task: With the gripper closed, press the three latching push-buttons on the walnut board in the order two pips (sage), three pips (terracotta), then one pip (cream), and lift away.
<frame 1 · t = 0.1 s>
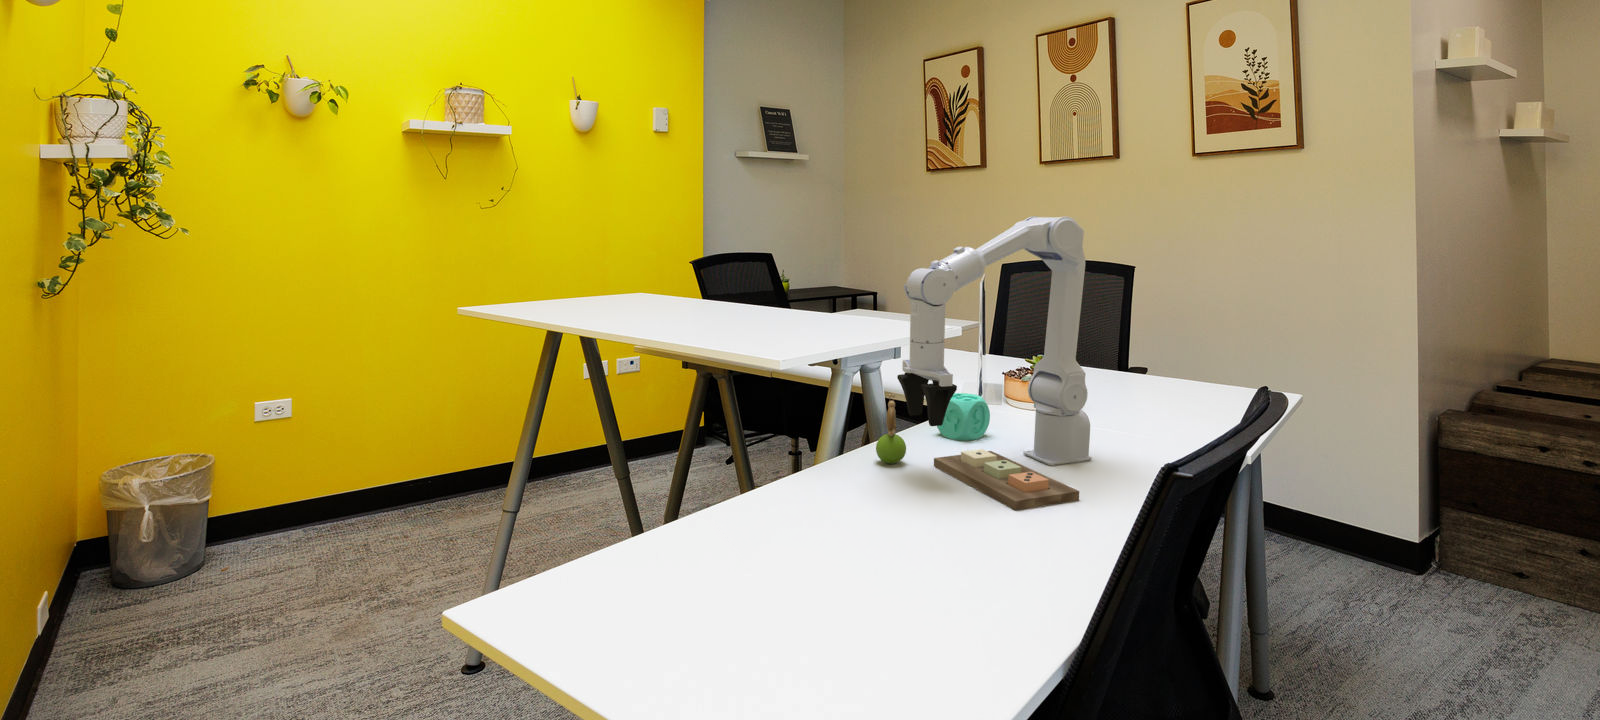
hand: (925, 420, 140), 10 cm above the table, tool pointing down, fingers open, 7 cm apart
decorative dice: (961, 436, 168), on the table
button 1 cream: (978, 458, 144), point 2 cm above the table, slide at 0.0 cm
button 3 terracotta: (1028, 482, 132), point 2 cm above the table, slide at 0.0 cm
button 2 sage: (1002, 470, 138), point 2 cm above the table, slide at 0.0 cm
button board: (1001, 482, 138), on the table
green wooden maraca: (890, 463, 150), on the table
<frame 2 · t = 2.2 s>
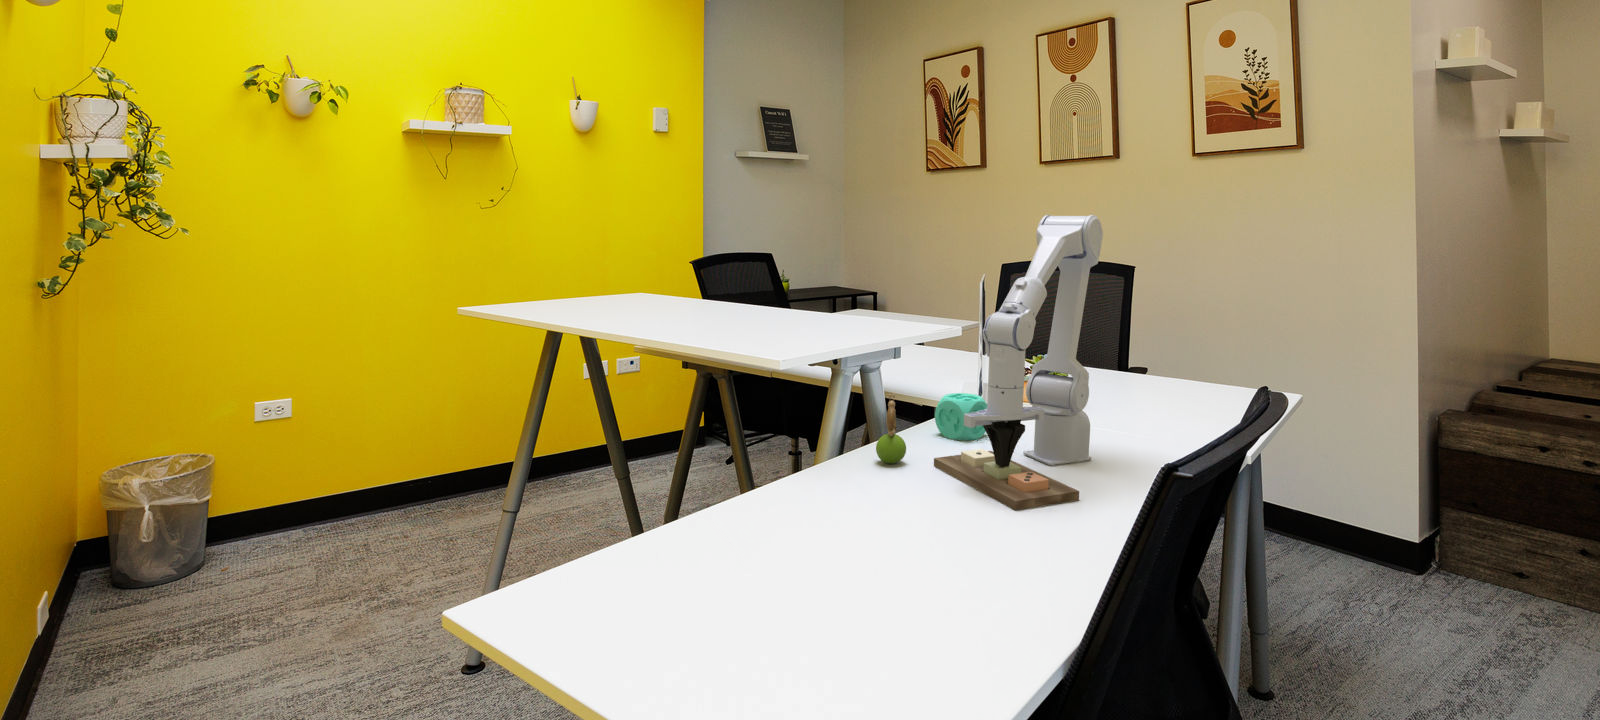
hand: (1002, 464, 138), 3 cm above the table, tool pointing down, fingers closed, pressing on button 2 sage
button 2 sage: (1002, 470, 138), point 2 cm above the table, slide at 0.1 cm, touching gripper
everything else where it was.
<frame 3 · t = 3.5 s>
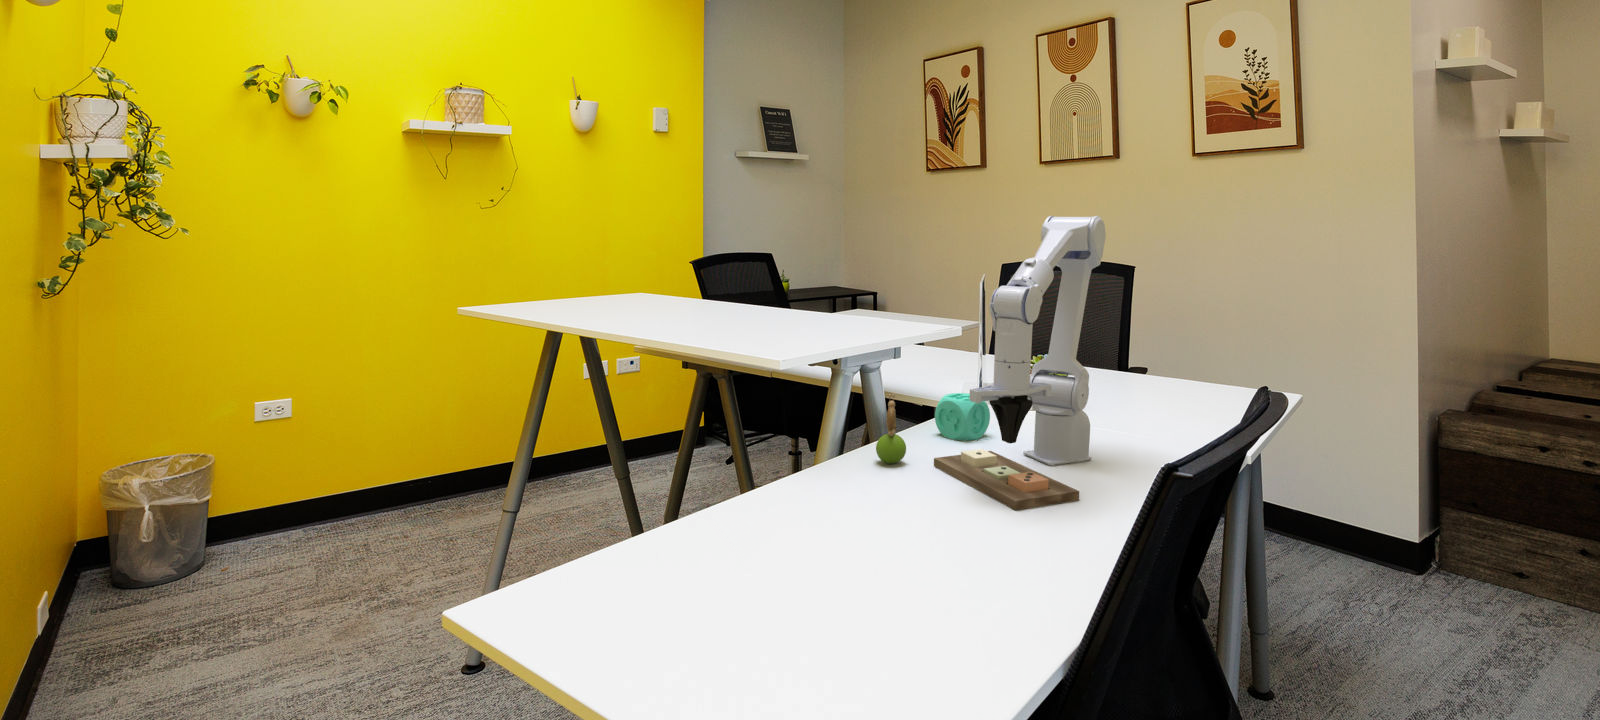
hand: (1008, 441, 136), 7 cm above the table, tool pointing down, fingers closed
button 2 sage: (1001, 476, 138), point 1 cm above the table, slide at 1.0 cm
everything else where it was.
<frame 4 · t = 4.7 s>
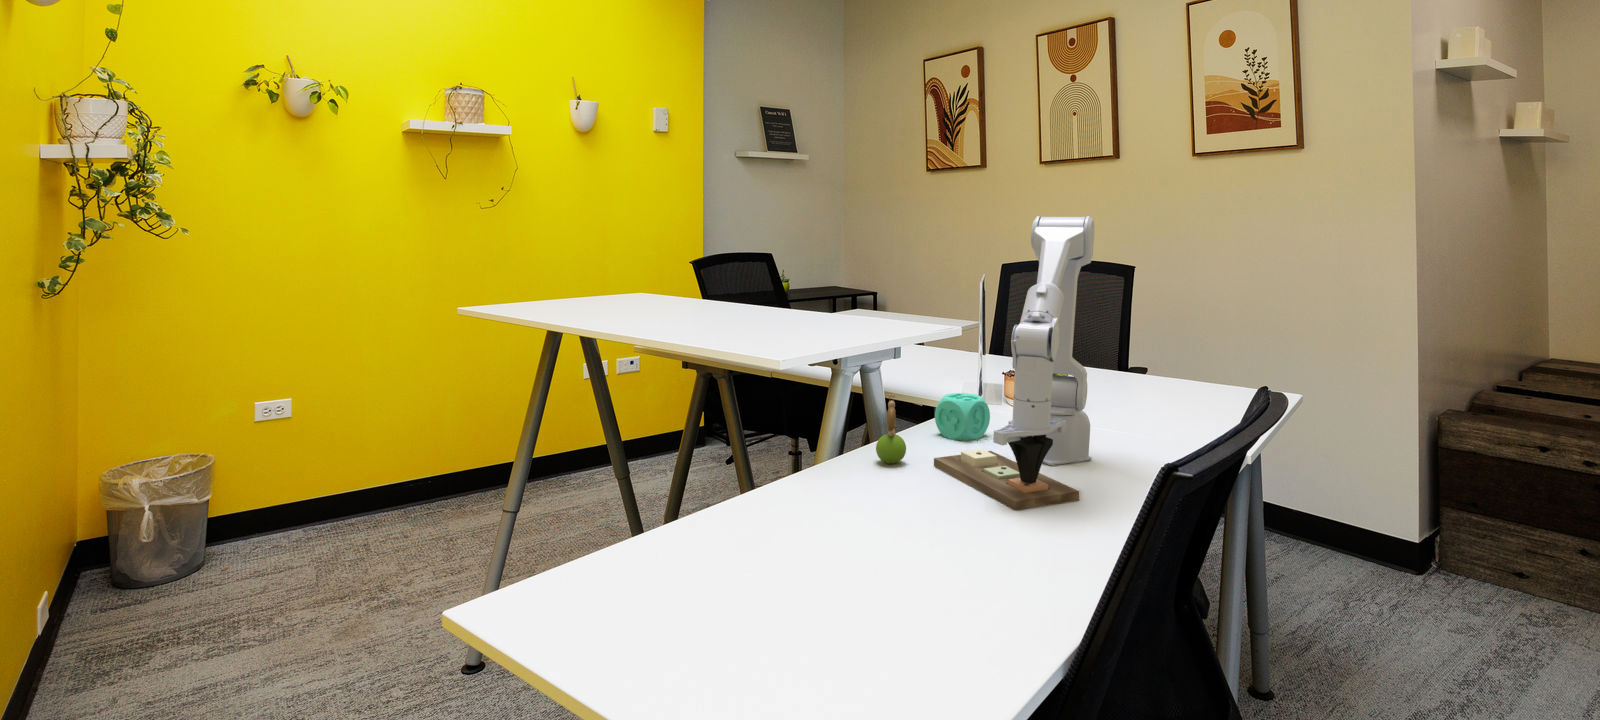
hand: (1028, 481, 131), 2 cm above the table, tool pointing down, fingers closed, pressing on button 3 terracotta
button 3 terracotta: (1027, 487, 132), point 1 cm above the table, slide at 0.8 cm, touching gripper
everything else where it was.
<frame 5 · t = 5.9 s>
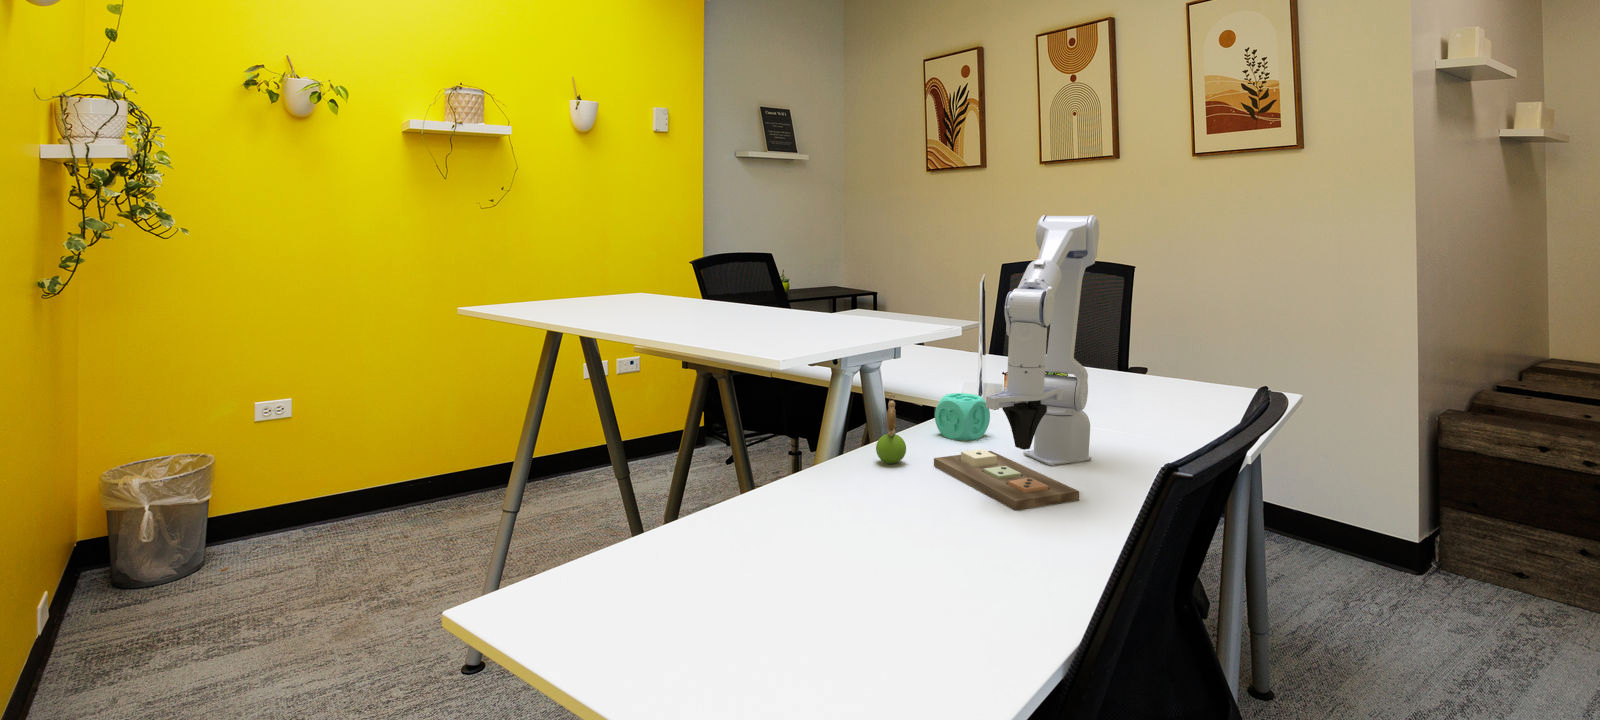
hand: (1022, 447, 132), 7 cm above the table, tool pointing down, fingers closed
button 3 terracotta: (1027, 488, 132), point 1 cm above the table, slide at 1.0 cm
everything else where it was.
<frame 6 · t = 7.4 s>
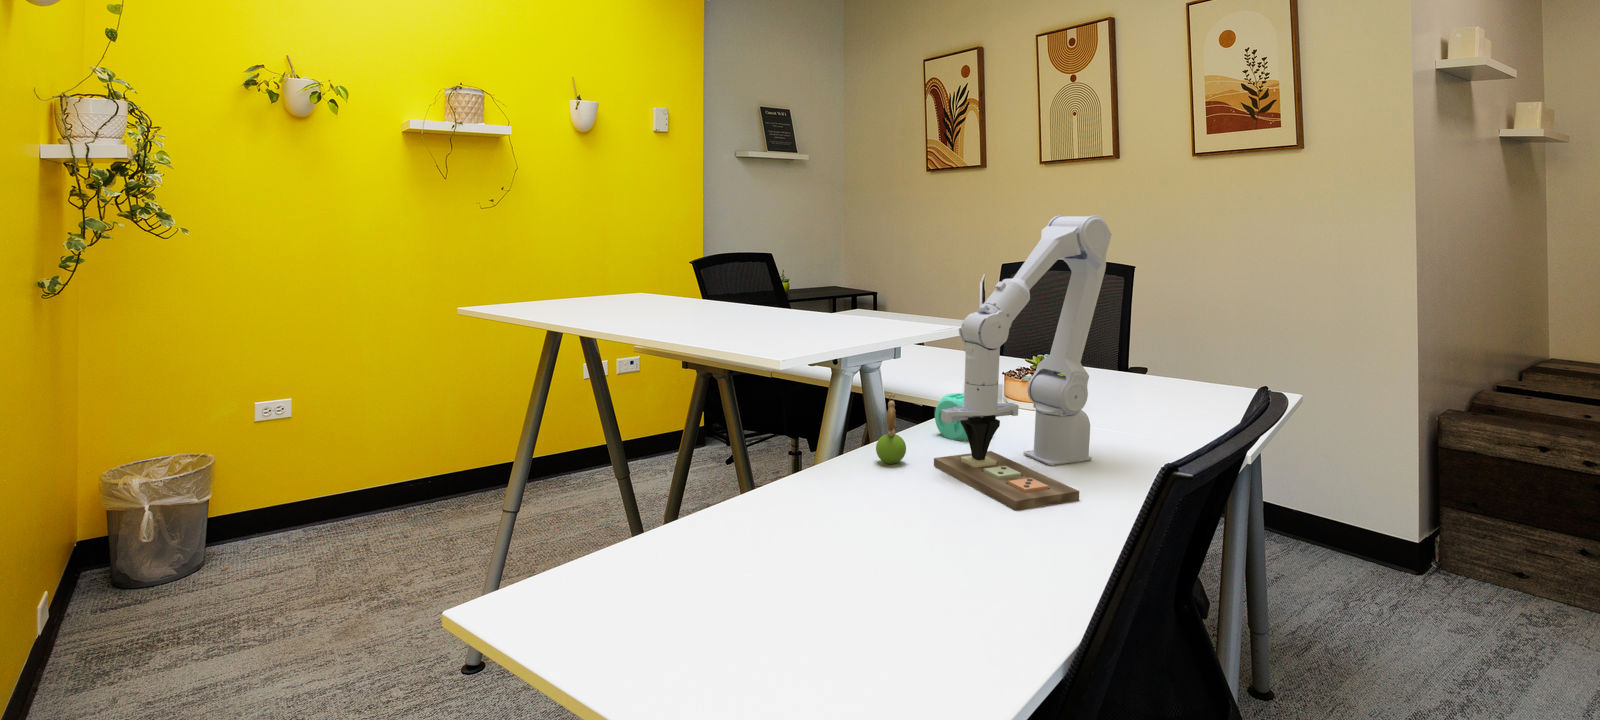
hand: (978, 458, 144), 2 cm above the table, tool pointing down, fingers closed, pressing on button 1 cream
button 1 cream: (978, 464, 145), point 1 cm above the table, slide at 0.9 cm, touching gripper
everything else where it was.
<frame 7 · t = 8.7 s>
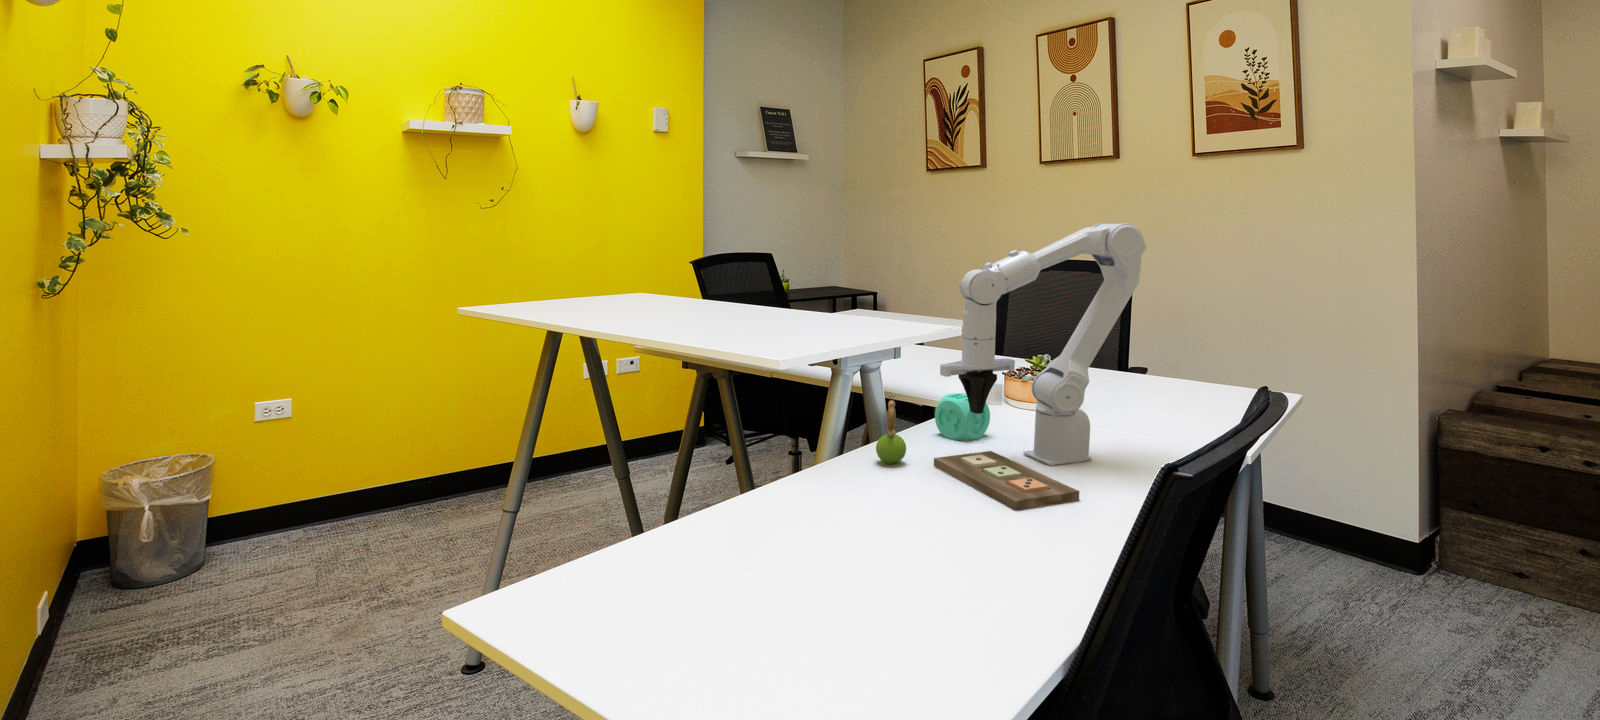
hand: (976, 412, 149), 9 cm above the table, tool pointing down, fingers closed
button 1 cream: (978, 464, 145), point 1 cm above the table, slide at 1.0 cm
everything else where it was.
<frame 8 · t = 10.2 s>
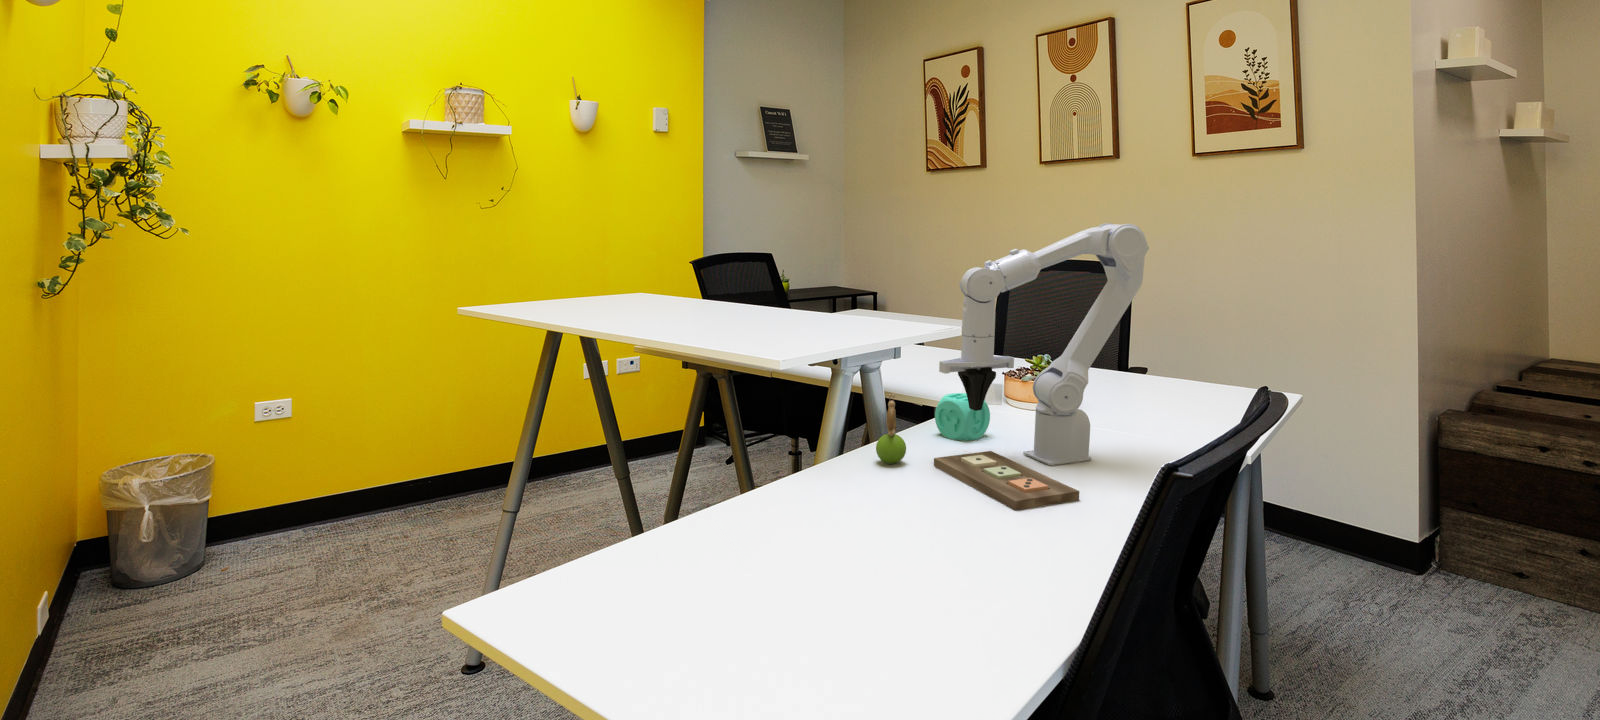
hand: (975, 409, 150), 9 cm above the table, tool pointing down, fingers closed
nothing on the table moved.
at the end: button 2 sage slide at 1.0 cm; button 3 terracotta slide at 1.0 cm; button 1 cream slide at 1.0 cm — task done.
